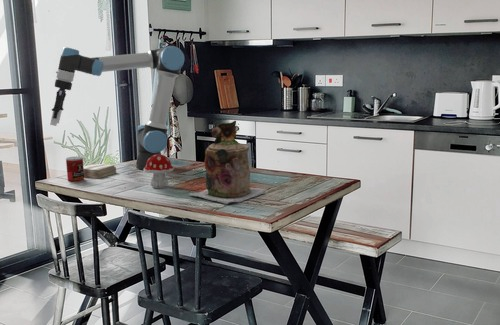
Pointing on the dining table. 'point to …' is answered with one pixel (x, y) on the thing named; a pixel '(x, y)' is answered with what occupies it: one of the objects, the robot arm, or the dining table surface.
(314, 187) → the dining table surface
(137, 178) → the dining table surface
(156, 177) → the decorative mushroom
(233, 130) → the cookie jar
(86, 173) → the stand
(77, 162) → the canned food
